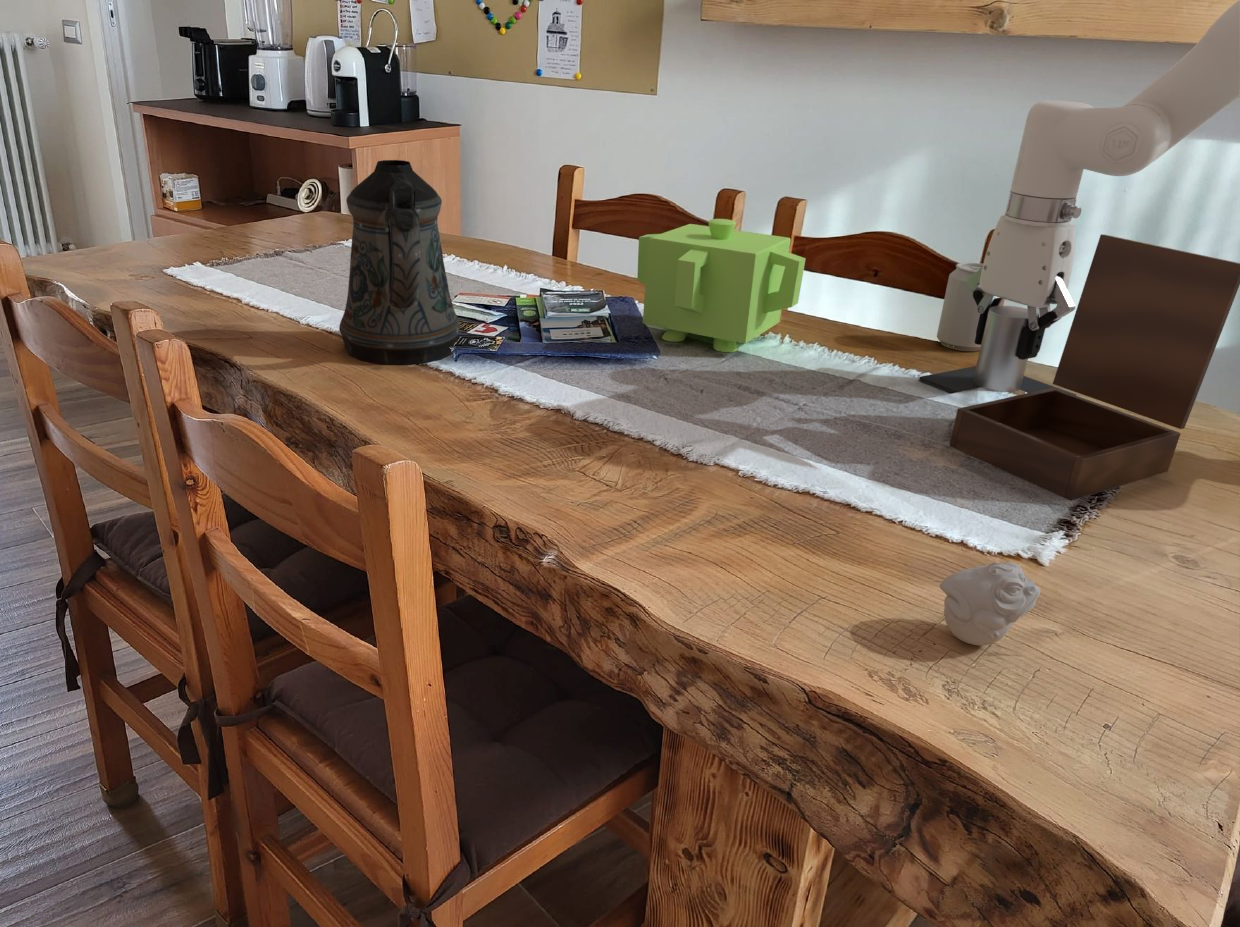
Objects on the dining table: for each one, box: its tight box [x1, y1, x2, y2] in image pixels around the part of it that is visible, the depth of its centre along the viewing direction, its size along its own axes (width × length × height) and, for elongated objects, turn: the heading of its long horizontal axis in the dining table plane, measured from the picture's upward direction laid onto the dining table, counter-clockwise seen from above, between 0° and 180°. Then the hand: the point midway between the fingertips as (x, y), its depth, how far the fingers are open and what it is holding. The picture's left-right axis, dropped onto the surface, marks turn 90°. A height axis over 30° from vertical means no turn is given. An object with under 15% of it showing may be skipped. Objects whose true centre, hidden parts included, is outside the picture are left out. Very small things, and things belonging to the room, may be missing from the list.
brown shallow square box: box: [949, 388, 1181, 502], centre depth 110 cm, size 17×16×5 cm
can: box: [936, 262, 983, 352], centre depth 148 cm, size 8×8×12 cm
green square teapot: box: [636, 218, 807, 353], centre depth 147 cm, size 25×23×17 cm
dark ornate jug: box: [338, 159, 461, 366], centre depth 134 cm, size 16×19×25 cm
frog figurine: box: [939, 561, 1041, 646], centre depth 77 cm, size 6×7×7 cm
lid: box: [1052, 233, 1240, 430], centre depth 110 cm, size 17×16×5 cm
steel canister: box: [973, 305, 1029, 393], centre depth 131 cm, size 6×6×10 cm
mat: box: [918, 365, 1077, 396], centre depth 133 cm, size 14×14×1 cm
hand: (1005, 349), depth 131 cm, fingers closed on steel canister, 6 cm apart
